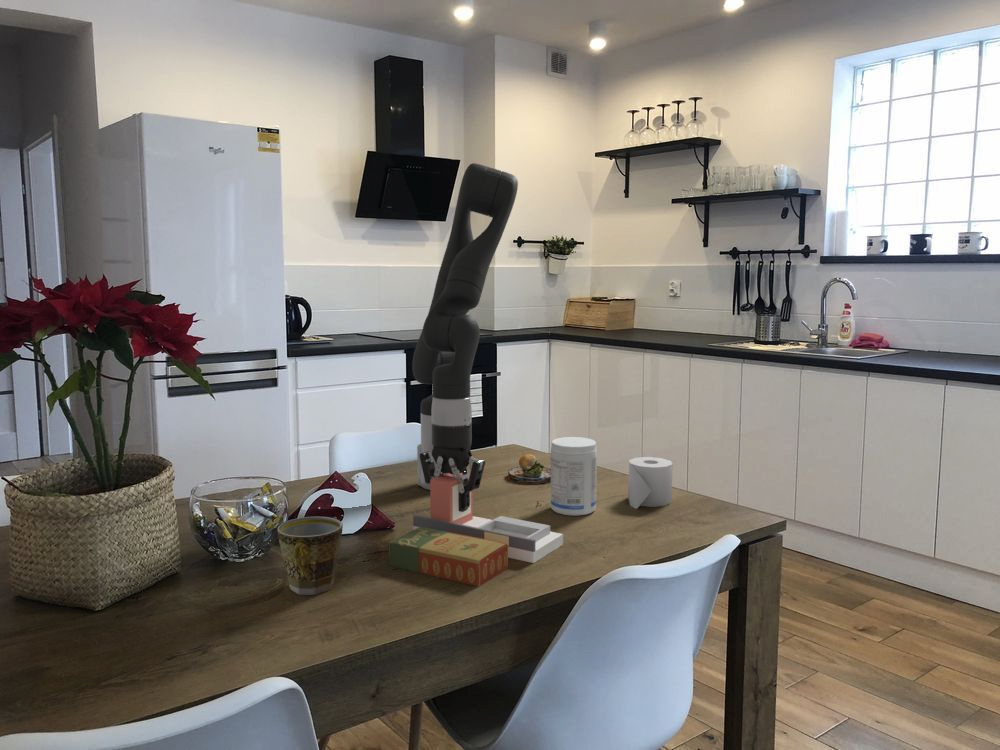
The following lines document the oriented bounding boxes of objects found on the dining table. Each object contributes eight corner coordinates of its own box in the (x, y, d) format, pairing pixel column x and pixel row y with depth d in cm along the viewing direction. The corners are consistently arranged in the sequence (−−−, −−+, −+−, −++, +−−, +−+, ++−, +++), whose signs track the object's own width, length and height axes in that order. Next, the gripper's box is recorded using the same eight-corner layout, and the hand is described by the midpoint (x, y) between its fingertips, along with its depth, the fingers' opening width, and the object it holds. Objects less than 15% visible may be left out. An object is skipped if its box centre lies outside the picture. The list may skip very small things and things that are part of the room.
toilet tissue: (632, 511, 168) (633, 471, 167) (626, 493, 181) (627, 456, 180) (676, 512, 167) (677, 472, 166) (667, 494, 180) (668, 457, 179)
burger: (558, 485, 188) (558, 454, 187) (507, 485, 188) (507, 454, 187) (555, 472, 200) (555, 443, 199) (507, 472, 200) (507, 442, 199)
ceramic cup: (290, 574, 133) (288, 515, 132) (350, 575, 133) (348, 516, 131) (264, 607, 120) (262, 542, 119) (331, 608, 120) (329, 543, 119)
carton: (479, 589, 128) (478, 559, 128) (387, 567, 137) (387, 539, 137) (508, 569, 136) (508, 541, 136) (420, 550, 146) (420, 524, 145)
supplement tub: (573, 500, 175) (574, 434, 173) (605, 511, 168) (607, 442, 166) (540, 509, 169) (541, 440, 167) (572, 520, 162) (573, 448, 160)
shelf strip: (413, 536, 152) (412, 515, 151) (447, 520, 161) (447, 501, 161) (533, 563, 138) (533, 541, 138) (563, 544, 148) (563, 523, 147)
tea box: (430, 525, 152) (429, 479, 151) (453, 515, 158) (453, 470, 157) (450, 530, 149) (450, 482, 148) (472, 519, 156) (472, 474, 154)
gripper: (408, 419, 152) (409, 507, 154) (472, 428, 144) (472, 520, 146) (432, 413, 158) (433, 498, 160) (494, 421, 151) (494, 509, 153)
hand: (452, 508), depth 153 cm, fingers closed on tea box, 4 cm apart
